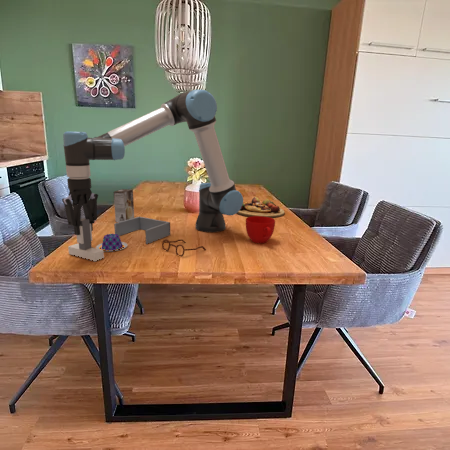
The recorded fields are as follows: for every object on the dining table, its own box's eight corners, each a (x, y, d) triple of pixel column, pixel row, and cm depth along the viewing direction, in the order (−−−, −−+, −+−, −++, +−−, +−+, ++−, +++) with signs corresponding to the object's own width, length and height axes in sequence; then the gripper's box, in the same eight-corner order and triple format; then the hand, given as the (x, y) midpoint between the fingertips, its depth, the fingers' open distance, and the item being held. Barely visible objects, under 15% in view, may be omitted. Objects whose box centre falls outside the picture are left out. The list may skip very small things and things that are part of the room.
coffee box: (123, 217, 175) (122, 188, 171) (134, 218, 174) (133, 189, 170) (115, 222, 166) (113, 191, 162) (126, 223, 165) (124, 192, 161)
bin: (170, 234, 148) (170, 222, 147) (147, 244, 135) (146, 230, 133) (139, 228, 157) (139, 216, 155) (115, 236, 143) (114, 223, 141)
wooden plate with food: (234, 218, 184) (235, 204, 181) (231, 205, 214) (232, 193, 212) (289, 220, 185) (291, 206, 183) (278, 208, 216) (280, 196, 213)
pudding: (92, 246, 131) (91, 234, 129) (120, 241, 138) (119, 229, 137) (102, 255, 122) (101, 242, 120) (132, 249, 129) (131, 236, 128)
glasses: (161, 250, 130) (161, 238, 128) (185, 243, 139) (185, 232, 138) (182, 259, 121) (182, 246, 120) (207, 251, 131) (207, 239, 129)
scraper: (103, 257, 118) (101, 221, 114) (95, 261, 114) (91, 223, 111) (78, 250, 124) (74, 215, 120) (68, 253, 120) (65, 217, 117)
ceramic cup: (254, 249, 132) (255, 226, 130) (240, 237, 148) (241, 216, 145) (282, 247, 136) (284, 225, 133) (266, 236, 152) (268, 215, 149)
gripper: (90, 174, 120) (95, 234, 126) (50, 178, 106) (58, 245, 112) (105, 176, 116) (109, 237, 123) (65, 181, 103) (72, 249, 109)
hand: (84, 241), depth 118 cm, fingers closed on scraper, 3 cm apart
